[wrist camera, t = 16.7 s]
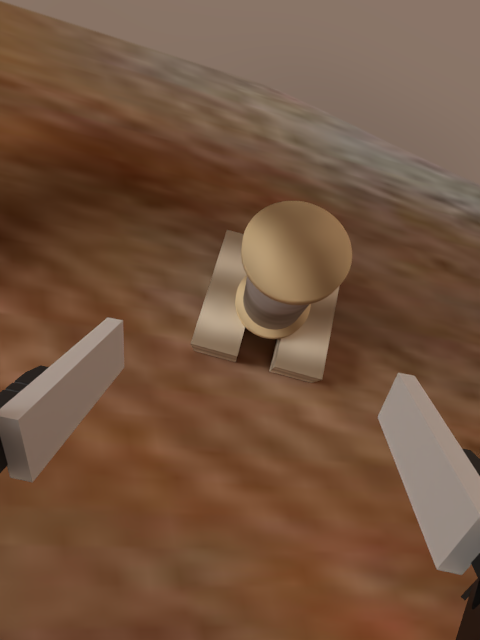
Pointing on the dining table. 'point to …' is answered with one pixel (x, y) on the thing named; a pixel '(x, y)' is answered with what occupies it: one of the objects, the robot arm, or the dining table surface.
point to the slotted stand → (227, 330)
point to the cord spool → (289, 266)
